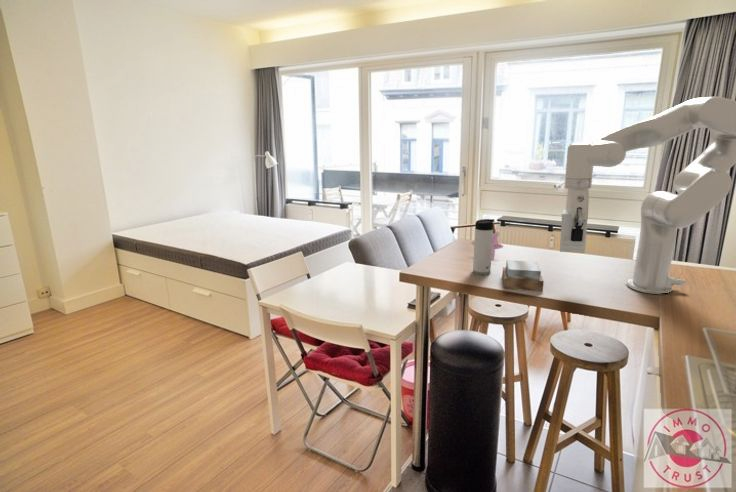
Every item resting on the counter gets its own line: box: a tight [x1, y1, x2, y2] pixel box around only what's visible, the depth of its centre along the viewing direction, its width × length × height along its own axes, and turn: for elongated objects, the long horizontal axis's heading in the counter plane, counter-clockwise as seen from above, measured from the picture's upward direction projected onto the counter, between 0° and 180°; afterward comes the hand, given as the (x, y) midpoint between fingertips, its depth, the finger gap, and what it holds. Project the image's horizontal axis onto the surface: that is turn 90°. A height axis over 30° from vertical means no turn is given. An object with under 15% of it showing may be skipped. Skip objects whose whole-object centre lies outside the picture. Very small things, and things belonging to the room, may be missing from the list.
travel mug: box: [472, 218, 496, 276], centre depth 155 cm, size 6×7×20 cm
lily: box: [470, 231, 504, 260], centre depth 178 cm, size 12×12×10 cm
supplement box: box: [559, 209, 588, 254], centre depth 138 cm, size 7×7×13 cm
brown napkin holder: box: [501, 259, 544, 292], centre depth 146 cm, size 12×12×6 cm
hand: (573, 237), depth 138 cm, fingers closed on supplement box, 8 cm apart
